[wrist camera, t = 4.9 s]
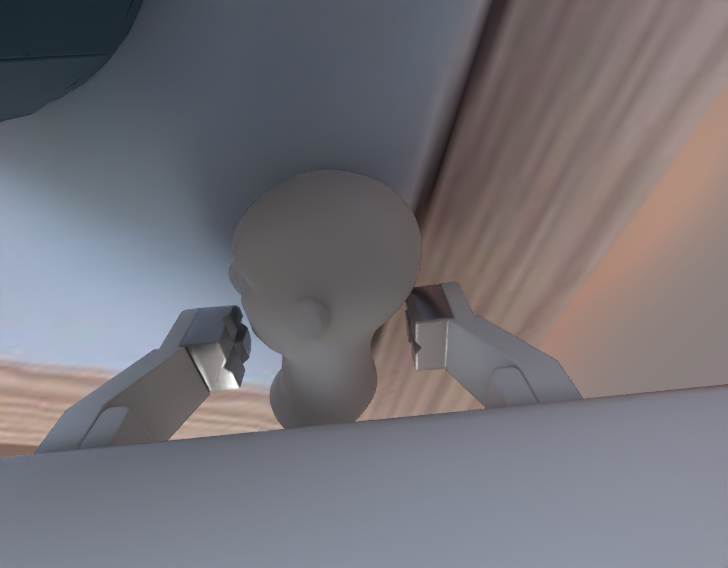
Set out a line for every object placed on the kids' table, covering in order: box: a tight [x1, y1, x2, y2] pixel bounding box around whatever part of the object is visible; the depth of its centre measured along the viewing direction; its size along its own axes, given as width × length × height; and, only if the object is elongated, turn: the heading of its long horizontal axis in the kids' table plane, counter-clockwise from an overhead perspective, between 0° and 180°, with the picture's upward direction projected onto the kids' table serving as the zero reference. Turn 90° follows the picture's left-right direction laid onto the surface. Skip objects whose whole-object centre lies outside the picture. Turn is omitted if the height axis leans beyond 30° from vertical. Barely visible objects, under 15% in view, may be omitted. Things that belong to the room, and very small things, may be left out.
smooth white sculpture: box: [229, 169, 422, 429], centre depth 10 cm, size 4×8×5 cm
